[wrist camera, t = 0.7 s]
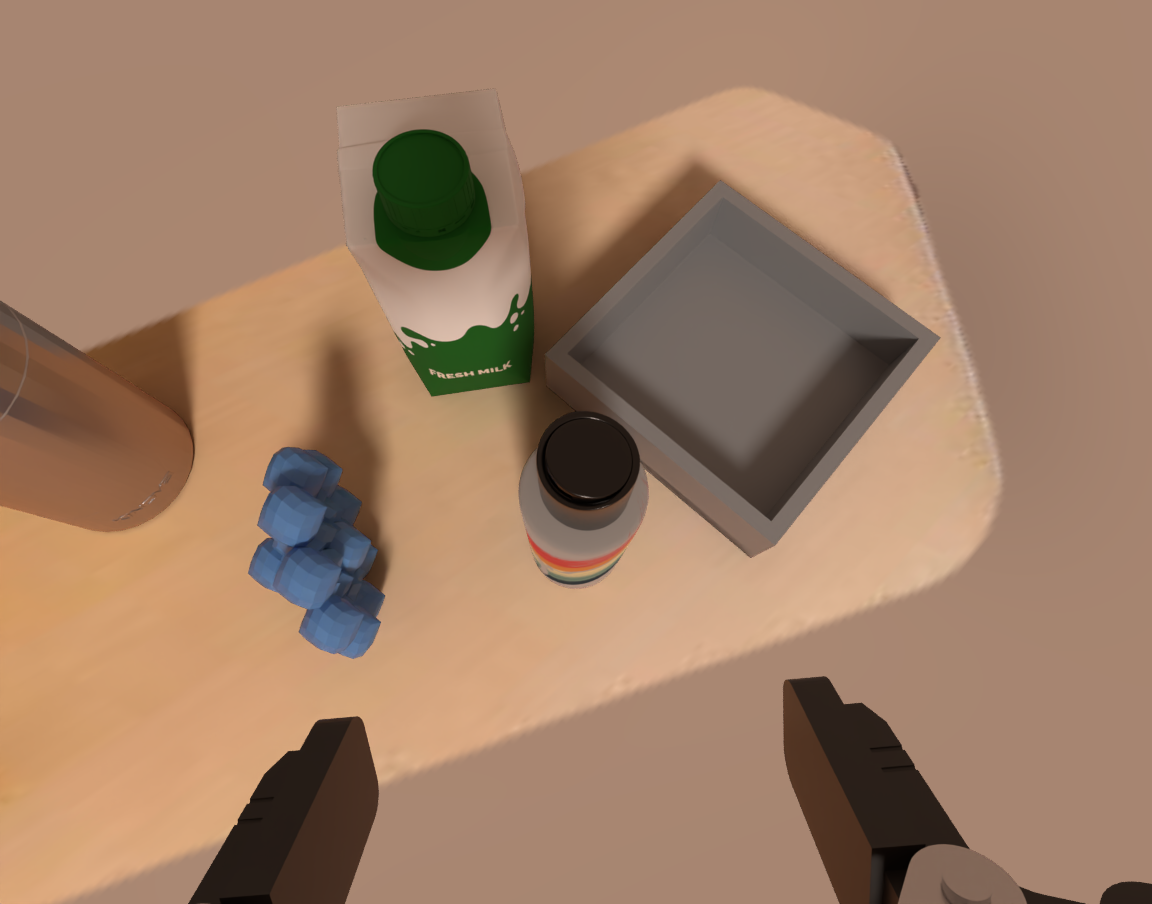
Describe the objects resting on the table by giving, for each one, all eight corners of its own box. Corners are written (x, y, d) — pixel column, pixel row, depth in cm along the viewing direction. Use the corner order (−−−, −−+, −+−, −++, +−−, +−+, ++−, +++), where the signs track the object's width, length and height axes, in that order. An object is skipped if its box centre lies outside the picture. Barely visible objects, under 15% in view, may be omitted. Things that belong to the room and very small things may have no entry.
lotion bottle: (513, 544, 42) (475, 453, 23) (576, 485, 43) (589, 352, 24) (575, 609, 41) (588, 569, 22) (637, 546, 42) (701, 457, 23)
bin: (546, 386, 45) (544, 354, 41) (705, 225, 50) (720, 179, 45) (750, 557, 42) (774, 545, 37) (901, 370, 46) (940, 337, 42)
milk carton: (419, 411, 45) (314, 229, 26) (407, 296, 47) (304, 54, 28) (545, 392, 45) (534, 201, 26) (526, 280, 48) (504, 32, 29)
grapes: (278, 496, 43) (174, 439, 31) (380, 471, 43) (315, 405, 32) (304, 677, 39) (199, 686, 28) (414, 646, 40) (356, 643, 29)
